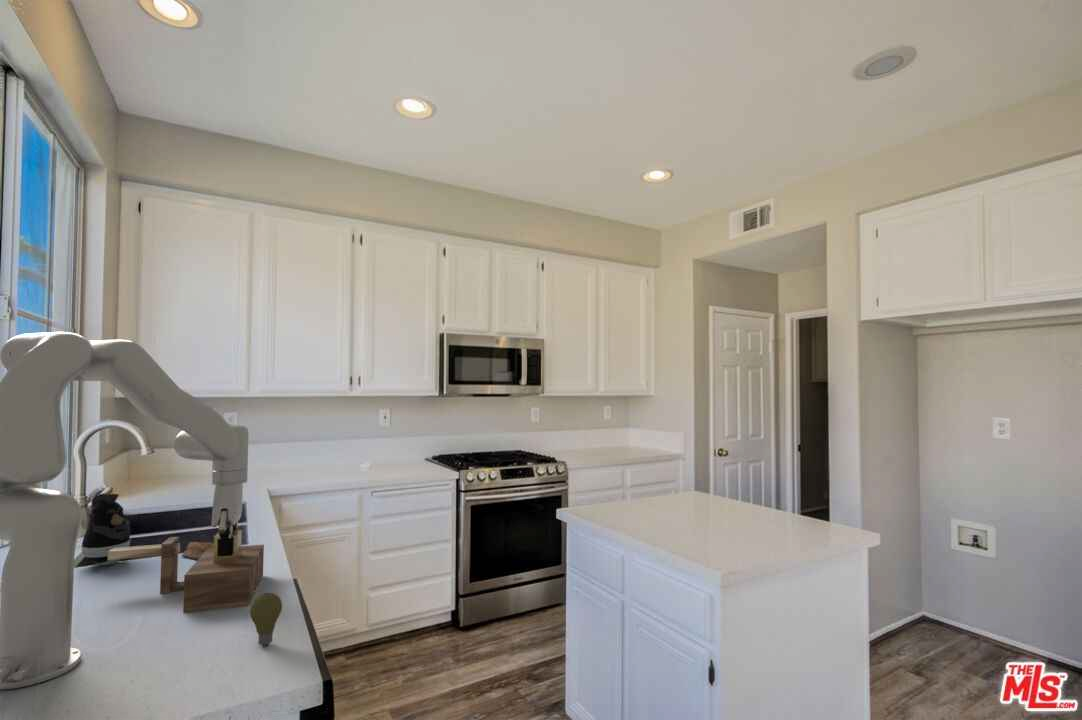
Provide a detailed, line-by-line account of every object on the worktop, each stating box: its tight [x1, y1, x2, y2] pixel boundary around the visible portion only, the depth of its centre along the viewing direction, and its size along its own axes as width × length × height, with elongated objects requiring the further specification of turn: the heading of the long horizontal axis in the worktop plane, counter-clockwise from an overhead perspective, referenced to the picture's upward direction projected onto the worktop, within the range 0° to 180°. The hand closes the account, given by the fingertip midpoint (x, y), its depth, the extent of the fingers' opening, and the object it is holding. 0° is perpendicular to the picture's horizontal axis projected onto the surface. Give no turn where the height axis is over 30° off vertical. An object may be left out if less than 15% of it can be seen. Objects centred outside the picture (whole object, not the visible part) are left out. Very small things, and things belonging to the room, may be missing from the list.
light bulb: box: [249, 592, 283, 647], centre depth 107 cm, size 6×6×10 cm
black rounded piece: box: [80, 492, 131, 566], centre depth 152 cm, size 11×11×20 cm
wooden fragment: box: [181, 541, 214, 560], centre depth 164 cm, size 26×11×1 cm, turn 40°
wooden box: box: [159, 536, 265, 614], centre depth 132 cm, size 20×22×12 cm
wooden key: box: [108, 542, 181, 560], centre depth 134 cm, size 3×14×2 cm, turn 109°
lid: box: [183, 529, 265, 581], centre depth 133 cm, size 20×13×8 cm, turn 19°
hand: (227, 551), depth 133 cm, fingers closed on lid, 5 cm apart
